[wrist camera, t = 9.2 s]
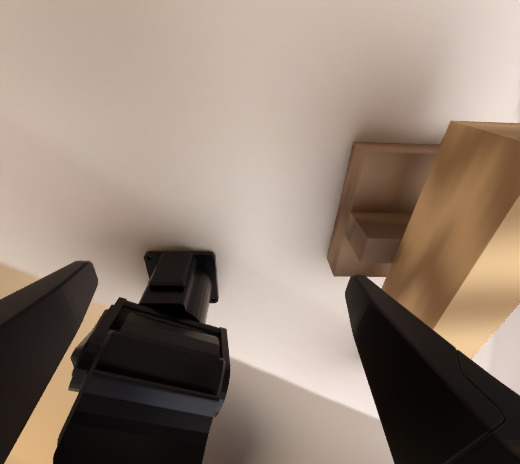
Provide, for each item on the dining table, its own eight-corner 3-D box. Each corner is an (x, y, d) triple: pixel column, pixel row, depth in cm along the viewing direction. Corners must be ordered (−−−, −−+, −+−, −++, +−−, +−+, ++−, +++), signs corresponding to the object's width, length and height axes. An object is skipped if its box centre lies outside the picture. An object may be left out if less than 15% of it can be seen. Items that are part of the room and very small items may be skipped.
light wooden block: (406, 327, 21) (444, 391, 17) (365, 327, 21) (393, 391, 17) (518, 123, 13) (649, 152, 9) (450, 120, 13) (548, 149, 8)
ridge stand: (407, 259, 25) (445, 308, 20) (327, 258, 25) (345, 307, 20) (458, 145, 19) (531, 174, 14) (353, 142, 19) (389, 170, 14)
